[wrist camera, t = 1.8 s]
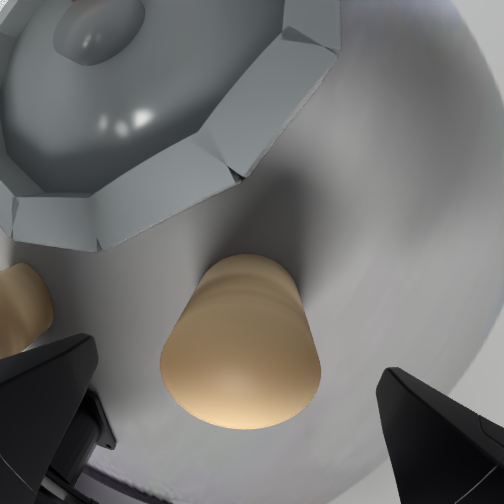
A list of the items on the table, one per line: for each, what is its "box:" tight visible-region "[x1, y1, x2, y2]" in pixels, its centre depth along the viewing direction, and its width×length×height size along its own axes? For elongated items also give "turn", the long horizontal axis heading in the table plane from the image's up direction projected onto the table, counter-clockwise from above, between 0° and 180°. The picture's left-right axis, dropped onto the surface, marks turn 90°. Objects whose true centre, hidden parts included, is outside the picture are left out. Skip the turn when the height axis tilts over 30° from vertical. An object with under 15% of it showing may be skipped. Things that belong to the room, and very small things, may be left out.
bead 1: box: [0, 263, 54, 359], centre depth 10 cm, size 4×4×5 cm
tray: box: [0, 0, 341, 253], centre depth 7 cm, size 19×19×3 cm
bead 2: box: [160, 254, 321, 429], centre depth 9 cm, size 4×4×5 cm
